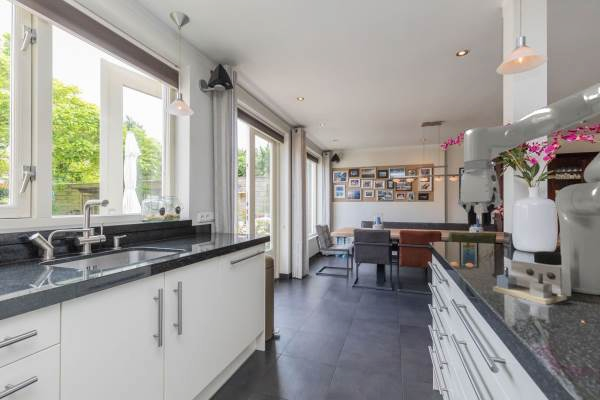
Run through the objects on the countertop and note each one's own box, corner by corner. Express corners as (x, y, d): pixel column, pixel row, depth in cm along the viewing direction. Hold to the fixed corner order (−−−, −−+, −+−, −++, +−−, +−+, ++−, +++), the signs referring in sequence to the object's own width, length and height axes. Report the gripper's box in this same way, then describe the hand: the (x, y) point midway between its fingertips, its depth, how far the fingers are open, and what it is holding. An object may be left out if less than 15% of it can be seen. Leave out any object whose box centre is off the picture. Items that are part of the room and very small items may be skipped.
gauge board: (513, 286, 86) (513, 259, 87) (567, 299, 74) (566, 267, 75) (492, 290, 82) (492, 262, 83) (545, 304, 71) (544, 271, 71)
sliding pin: (505, 284, 84) (505, 265, 84) (516, 287, 81) (516, 267, 81) (497, 286, 83) (496, 267, 83) (508, 289, 80) (507, 269, 80)
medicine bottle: (572, 297, 77) (570, 254, 78) (542, 296, 79) (541, 253, 79) (554, 290, 84) (553, 250, 85) (527, 288, 86) (526, 249, 86)
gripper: (513, 164, 83) (515, 226, 82) (461, 171, 98) (463, 223, 98) (497, 163, 80) (499, 227, 79) (446, 170, 95) (447, 224, 95)
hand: (479, 224), depth 88 cm, fingers open, 3 cm apart
